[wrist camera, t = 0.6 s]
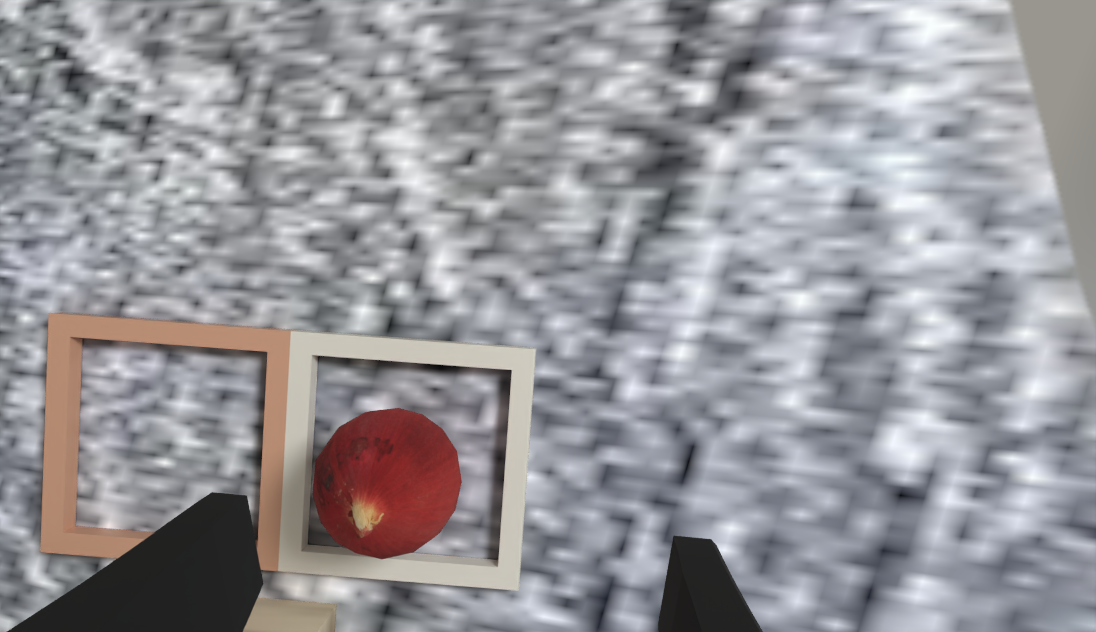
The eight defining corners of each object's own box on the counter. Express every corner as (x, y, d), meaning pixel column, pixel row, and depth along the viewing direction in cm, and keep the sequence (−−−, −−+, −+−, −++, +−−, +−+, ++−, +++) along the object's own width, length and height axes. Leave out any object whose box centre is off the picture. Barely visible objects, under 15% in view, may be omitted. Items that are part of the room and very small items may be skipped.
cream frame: (519, 582, 31) (518, 590, 30) (285, 563, 31) (278, 571, 30) (536, 347, 30) (535, 349, 29) (297, 329, 30) (290, 331, 30)
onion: (323, 473, 31) (240, 539, 23) (390, 370, 30) (330, 401, 22) (427, 542, 31) (381, 632, 23) (496, 440, 31) (473, 496, 23)
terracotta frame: (285, 563, 31) (278, 571, 30) (53, 545, 31) (40, 552, 30) (297, 329, 30) (290, 331, 30) (62, 312, 31) (48, 313, 30)
